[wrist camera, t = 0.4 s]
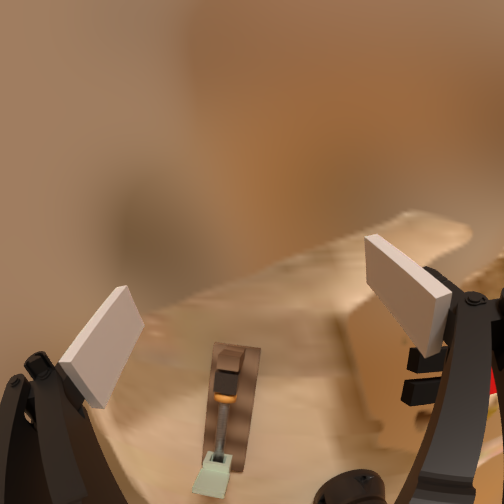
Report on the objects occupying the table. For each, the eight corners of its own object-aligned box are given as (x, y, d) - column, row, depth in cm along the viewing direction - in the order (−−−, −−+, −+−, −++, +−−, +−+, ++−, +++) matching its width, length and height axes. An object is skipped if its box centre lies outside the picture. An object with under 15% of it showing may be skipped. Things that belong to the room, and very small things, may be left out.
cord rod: (226, 485, 34) (223, 495, 30) (207, 481, 34) (203, 491, 31) (241, 360, 38) (239, 365, 35) (220, 357, 38) (216, 361, 35)
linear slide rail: (243, 468, 41) (237, 500, 30) (203, 461, 42) (189, 491, 31) (260, 348, 46) (258, 360, 35) (215, 342, 47) (200, 351, 36)
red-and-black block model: (428, 339, 37) (511, 333, 35) (406, 335, 45) (488, 332, 43) (412, 420, 34) (499, 400, 32) (393, 406, 42) (478, 393, 40)
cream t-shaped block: (231, 472, 35) (223, 504, 25) (205, 468, 35) (191, 498, 25) (233, 455, 35) (225, 486, 26) (206, 450, 36) (192, 480, 26)
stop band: (237, 397, 37) (234, 404, 34) (216, 394, 37) (211, 401, 34) (238, 392, 37) (235, 398, 34) (216, 388, 37) (212, 394, 34)
